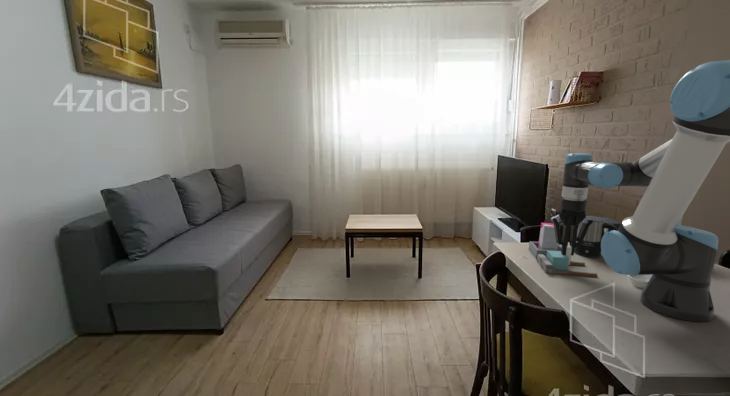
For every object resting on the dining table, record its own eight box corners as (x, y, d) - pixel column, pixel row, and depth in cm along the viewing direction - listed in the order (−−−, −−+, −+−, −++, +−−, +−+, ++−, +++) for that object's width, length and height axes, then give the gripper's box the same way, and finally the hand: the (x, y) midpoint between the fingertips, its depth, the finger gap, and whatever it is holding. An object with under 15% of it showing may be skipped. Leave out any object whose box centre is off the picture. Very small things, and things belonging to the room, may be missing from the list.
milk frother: (576, 256, 136) (581, 219, 133) (566, 244, 150) (570, 211, 148) (618, 260, 131) (624, 222, 129) (604, 247, 146) (609, 213, 143)
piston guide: (597, 277, 116) (598, 268, 115) (545, 273, 119) (546, 264, 119) (583, 264, 127) (584, 257, 126) (536, 261, 130) (537, 253, 129)
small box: (590, 239, 157) (593, 216, 155) (604, 239, 157) (608, 217, 155) (605, 246, 147) (608, 223, 145) (620, 247, 147) (624, 223, 145)
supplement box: (557, 255, 133) (560, 227, 131) (540, 254, 135) (543, 225, 133) (553, 250, 139) (556, 223, 137) (537, 249, 140) (540, 222, 138)
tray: (567, 260, 130) (568, 252, 130) (536, 258, 132) (536, 250, 132) (557, 251, 141) (558, 243, 140) (528, 249, 143) (529, 241, 142)
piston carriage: (567, 271, 120) (568, 258, 119) (551, 270, 121) (553, 257, 120) (560, 264, 126) (561, 251, 125) (545, 263, 127) (546, 250, 126)
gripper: (556, 200, 116) (549, 266, 120) (599, 201, 113) (590, 269, 118) (549, 196, 123) (543, 258, 127) (590, 197, 120) (582, 261, 125)
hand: (566, 263), depth 123 cm, fingers closed
